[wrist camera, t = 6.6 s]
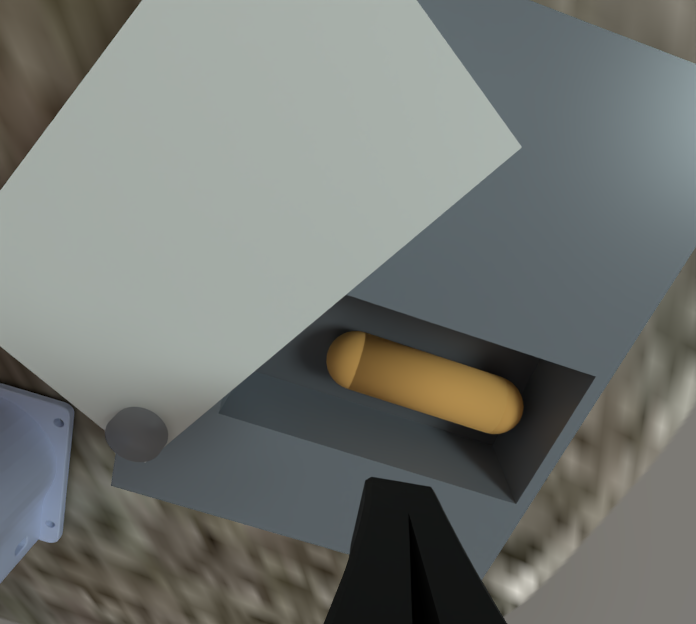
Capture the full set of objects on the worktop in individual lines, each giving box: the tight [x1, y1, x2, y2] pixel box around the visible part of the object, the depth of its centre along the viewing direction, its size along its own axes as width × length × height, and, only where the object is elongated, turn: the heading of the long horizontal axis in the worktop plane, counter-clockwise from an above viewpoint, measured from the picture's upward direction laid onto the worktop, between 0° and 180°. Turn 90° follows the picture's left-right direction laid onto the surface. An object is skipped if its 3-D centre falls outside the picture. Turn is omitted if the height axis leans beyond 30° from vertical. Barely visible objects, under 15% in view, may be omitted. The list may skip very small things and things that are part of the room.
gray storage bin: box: [111, 0, 696, 580], centre depth 16 cm, size 20×16×4 cm
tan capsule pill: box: [326, 331, 524, 434], centre depth 17 cm, size 2×8×2 cm
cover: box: [0, 0, 522, 463], centre depth 12 cm, size 8×14×2 cm, turn 132°
